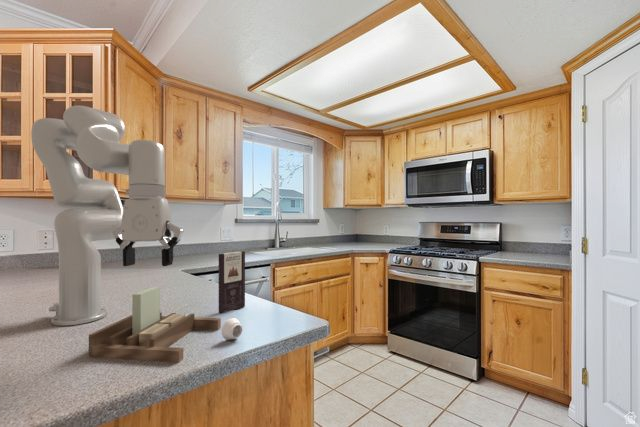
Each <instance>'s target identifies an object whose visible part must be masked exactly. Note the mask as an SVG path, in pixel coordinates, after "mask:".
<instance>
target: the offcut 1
mask: <svg viewBox="0 0 640 427" xmlns="http://www.w3.org/2000/svg"><path fill="white" fill-rule="evenodd" d="M168 327H169V324H155V325H154V326H152V327H150V328H148V329H146V330H145V331H143V332H141V333H139V346H149V339H151V338H152V337H154V336H155V335H157V334H159V333H160V332H162V331H164V330H165V329H167V328H168Z"/></svg>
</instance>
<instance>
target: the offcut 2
mask: <svg viewBox="0 0 640 427" xmlns="http://www.w3.org/2000/svg"><path fill="white" fill-rule="evenodd" d="M185 317H186V314H185V313H176V314H173V315H171V316H170V317H168V318H166V319H164V320H162V321H161V322H159V323H160V324H169V327H170V326H172V325H173V324H175V323H177V322H178V321H180V320H181V319H183V318H185Z"/></svg>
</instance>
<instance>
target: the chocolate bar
mask: <svg viewBox="0 0 640 427" xmlns="http://www.w3.org/2000/svg"><path fill="white" fill-rule="evenodd" d="M245 307H246V251H243V250H242V251H235V252H225V253H218V314H223V313H228V312H231V311H234V310H237V309H241V308H245Z"/></svg>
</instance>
